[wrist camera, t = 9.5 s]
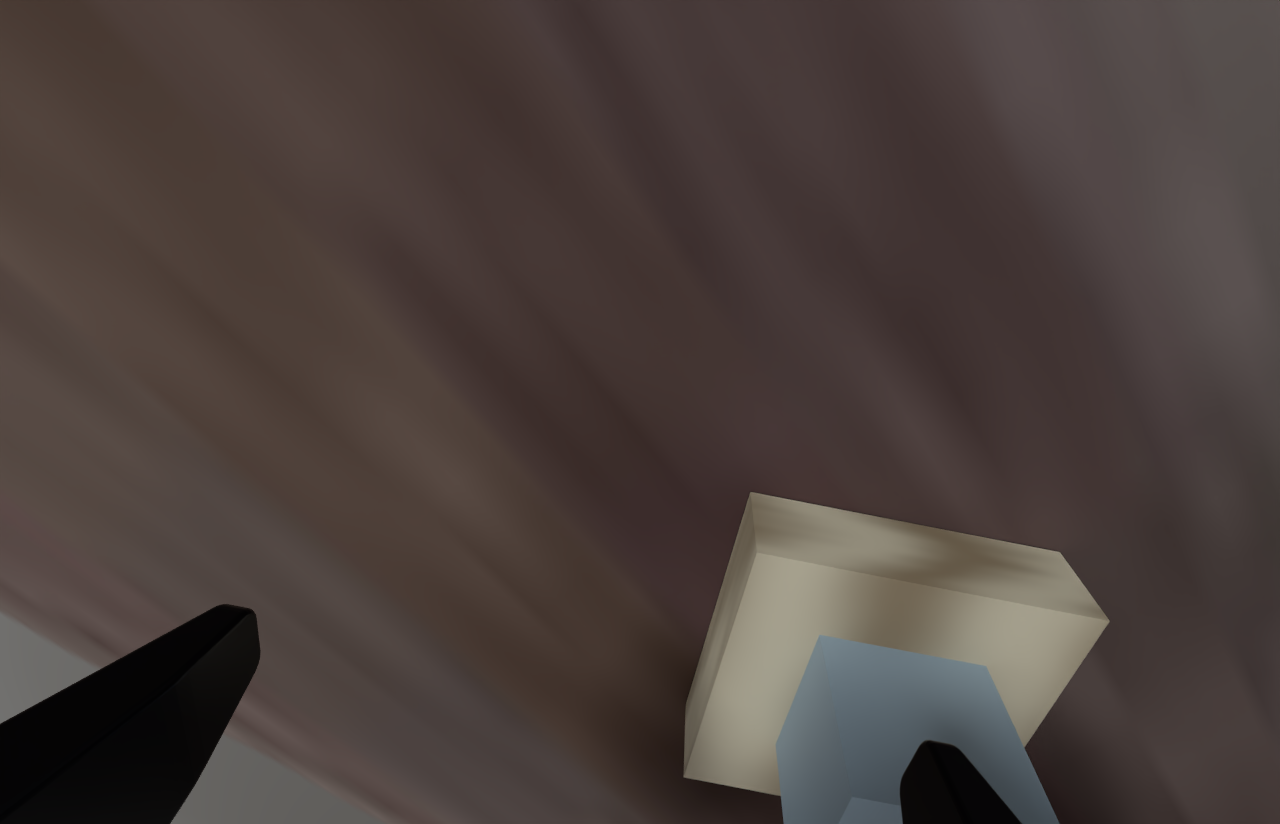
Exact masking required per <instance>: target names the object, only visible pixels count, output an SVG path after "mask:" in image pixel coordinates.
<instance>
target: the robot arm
mask: <svg viewBox="0 0 1280 824" xmlns="http://www.w3.org/2000/svg"><path fill="white" fill-rule="evenodd" d="M259 660H260V643H259V635H258V626H257V618H256V614H255V613H254V611H253V610H252V609H249V608H245V607H239V606H234V605H229V604H222V605H219V606H216V607H214V608H212V609H210V610H208V611H206V612H205V613H203V614H201V615H199V616H197V617H195V618H194V619H192V620H190V621H188V622H186V623H184V624H183V625H181V626H179V627H177V628H175V629H173V630H172V631H170V632H168V633H166V634H164V635H162V636H160V637H159V638H157V639H155V640H153V641H151V642H149V643H148V644H146V645H144V646H142V647H140V648H138V649H137V650H135V651H133V652H131V653H129V654H127V655H126V656H124V657H122V658H120V659H118V660H116V661H115V662H113V663H111V664H109V665H107V666H105V667H104V668H102V669H100V670H98V671H96V672H94V673H93V674H91V675H89V676H87V677H86V678H83V679H82V680H80V681H78V682H76V683H74V684H72V685H71V686H69V687H67V688H65V689H63V690H61V691H60V692H58V693H56V694H54V695H52V696H51V697H49V698H47V699H45V700H43V701H42V702H39V703H38V704H36V705H34V706H32V707H30V708H28V709H27V710H25V711H23V712H21V713H19V714H17V715H16V716H14V717H12V718H10V719H8V720H6V721H4V722H3V723H1V724H0V824H170V823H171V822H172V820H173V819H174V817H175V816H176V814H177V812H178V811H179V809H180V808H181V806H182V805H183V803H184V802H185V800H186V798H187V797H188V795H189V794H190V792H191V791H192V789H193V787H194V786H195V784H196V782H197V781H198V779H199V777H200V775H201V773H202V772H203V770H204V768H205V766H206V764H207V763H208V761H209V759H210V757H211V755H212V753H213V751H214V749H215V747H216V745H217V743H218V742H219V740H220V738H221V736H222V734H223V732H224V730H225V728H226V726H227V725H228V723H229V721H230V719H231V717H232V715H233V713H234V711H235V709H236V707H237V706H238V704H239V702H240V700H241V698H242V696H243V694H244V692H245V690H246V688H247V687H248V685H249V683H250V681H251V679H252V677H253V675H254V673H255V671H256V669H257V666H258V664H259ZM900 803H901V813H902V822H903V824H1022V823H1021V821H1020V820H1019V819H1018V818H1017V817H1016V816H1015V814H1014V813H1013V812H1012V811H1011V810H1010V808H1009V807H1008V806H1007V805H1006V804H1005V802H1004V801H1003V800H1002V799H1001V798H1000V796H999V795H998V794H997V793H996V792H995V790H994V789H993V788H992V787H991V786H990V784H989V783H988V782H987V781H986V780H985V778H984V777H983V776H982V775H981V774H980V772H979V771H978V770H977V769H976V768H975V766H974V765H973V764H972V763H971V762H970V760H969V759H968V758H967V757H966V756H965V754H964V753H963V752H962V751H961V750H960V749H959V748H958V747H956V746H955V745H952V744H949V743H944V742H939V741H933V740H925V741H923V742H922V743H921V744H920V745H919V747H918V749H917V750H916V752H915V754H914V756H913V757H912V759H911V761H910V763H909V765H908V766H907V768H906V770H905V772H904V773H903V776H902V778H901V782H900Z"/></svg>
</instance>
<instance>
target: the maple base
mask: <svg viewBox="0 0 1280 824" xmlns="http://www.w3.org/2000/svg"><path fill="white" fill-rule="evenodd" d="M1108 623H1109V620H1108V618H1107V617H1106V615H1105V614H1104V613H1103V611H1102V610H1101V608H1100V607H1099V606H1098V604H1097V603H1096V602H1095V600H1094V599H1093V597H1092V596H1091V595H1090V593H1089V592H1088V590H1087V589H1086V588H1085V586H1084V585H1083V584H1082V582H1081V581H1080V579H1079V578H1078V577H1077V575H1076V574H1075V572H1074V571H1073V570H1072V568H1071V567H1070V566H1069V564H1068V563H1067V561H1066V560H1065V559H1064V557H1063V556H1062V554H1061V553H1060V552H1056V551H1051V550H1046V549H1041V548H1035V547H1030V546H1025V545H1020V544H1015V543H1010V542H1005V541H999V540H994V539H989V538H984V537H979V536H974V535H969V534H964V533H958V532H953V531H948V530H943V529H938V528H933V527H928V526H922V525H917V524H912V523H907V522H902V521H897V520H892V519H886V518H881V517H876V516H871V515H866V514H861V513H856V512H851V511H845V510H840V509H835V508H830V507H825V506H820V505H815V504H809V503H804V502H799V501H794V500H789V499H784V498H779V497H774V496H768V495H763V494H758V493H753V492H750V495H749V498H748V502H747V505H746V508H745V511H744V515H743V518H742V521H741V525H740V528H739V531H738V534H737V538H736V541H735V544H734V548H733V551H732V554H731V557H730V561H729V564H728V567H727V571H726V574H725V577H724V580H723V584H722V587H721V590H720V594H719V597H718V600H717V603H716V607H715V610H714V613H713V617H712V620H711V623H710V626H709V630H708V633H707V636H706V640H705V643H704V646H703V649H702V653H701V656H700V659H699V663H698V666H697V669H696V673H695V676H694V679H693V682H692V686H691V689H690V692H689V696H688V699H687V702H686V712H685V748H684V777H685V778H690V779H695V780H700V781H705V782H711V783H716V784H721V785H726V786H732V787H737V788H742V789H747V790H752V791H758V792H763V793H768V794H773V795H779V796H781V792H780V783H779V773H778V763H777V754H776V742H777V740H778V737H779V735H780V732H781V730H782V727H783V725H784V722H785V720H786V717H787V715H788V712H789V710H790V707H791V705H792V702H793V700H794V697H795V695H796V692H797V690H798V687H799V685H800V682H801V680H802V677H803V675H804V672H805V670H806V667H807V665H808V662H809V660H810V657H811V655H812V652H813V650H814V647H815V645H816V642H817V640H818V637H819V635H824V636H829V637H834V638H840V639H845V640H850V641H856V642H861V643H866V644H871V645H877V646H882V647H887V648H893V649H898V650H903V651H909V652H914V653H919V654H925V655H930V656H935V657H941V658H946V659H951V660H956V661H962V662H967V663H972V664H978V665H983V666H986V667H987V669H988V671H989V673H990V675H991V677H992V680H993V682H994V684H995V686H996V688H997V690H998V693H999V695H1000V697H1001V699H1002V701H1003V703H1004V705H1005V708H1006V710H1007V712H1008V714H1009V716H1010V718H1011V720H1012V723H1013V725H1014V727H1015V729H1016V731H1017V733H1018V736H1019V738H1020V740H1021V742H1022V744H1023V746H1024V747H1025V746H1026V744H1027V743H1028V741H1029V740H1030V738H1031V737H1032V735H1033V734H1034V732H1035V731H1036V730H1037V728H1038V727H1039V725H1040V724H1041V722H1042V721H1043V719H1044V718H1045V716H1046V715H1047V713H1048V712H1049V710H1050V709H1051V707H1052V706H1053V704H1054V703H1055V701H1056V700H1057V698H1058V697H1059V695H1060V694H1061V692H1062V691H1063V689H1064V688H1065V687H1066V685H1067V684H1068V682H1069V681H1070V679H1071V678H1072V676H1073V675H1074V673H1075V672H1076V670H1077V669H1078V667H1079V666H1080V664H1081V663H1082V661H1083V660H1084V658H1085V657H1086V655H1087V654H1088V652H1089V651H1090V649H1091V648H1092V646H1093V645H1094V644H1095V642H1096V641H1097V639H1098V638H1099V636H1100V635H1101V633H1102V632H1103V630H1104V629H1105V627H1106V626H1107V624H1108Z"/></svg>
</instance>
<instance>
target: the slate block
mask: <svg viewBox="0 0 1280 824" xmlns="http://www.w3.org/2000/svg"><path fill="white" fill-rule="evenodd" d="M925 740H933V741H939V742H944V743H949V744H952V745H955V746H956V747H958V748H959V749H960V750H961V751H962V752H963V753H964V754H965V756H966V757H967V758H968V759H969V760H970V762H971V763H972V764H973V765H974V766H975V768H976V769H977V770H978V771H979V772H980V774H981V775H982V776H983V777H984V778H985V780H986V781H987V782H988V783H989V784H990V786H991V787H992V788H993V789H994V790H995V792H996V793H997V794H998V795H999V796H1000V798H1001V799H1002V800H1003V801H1004V802H1005V804H1006V805H1007V806H1008V807H1009V808H1010V810H1011V811H1012V812H1013V813H1014V814H1015V816H1016V817H1017V818H1018V819H1019V820H1020V821H1021V823H1022V824H1059V822H1058V819H1057V817H1056V815H1055V813H1054V811H1053V809H1052V806H1051V804H1050V802H1049V800H1048V798H1047V796H1046V794H1045V791H1044V789H1043V787H1042V785H1041V783H1040V781H1039V779H1038V776H1037V774H1036V772H1035V770H1034V768H1033V766H1032V763H1031V761H1030V759H1029V757H1028V755H1027V753H1026V751H1025V748H1024V746H1023V744H1022V742H1021V740H1020V738H1019V736H1018V733H1017V731H1016V729H1015V727H1014V725H1013V723H1012V720H1011V718H1010V716H1009V714H1008V712H1007V710H1006V708H1005V705H1004V703H1003V701H1002V699H1001V697H1000V695H999V693H998V690H997V688H996V686H995V684H994V682H993V680H992V677H991V675H990V673H989V671H988V669H987V667H986V666H983V665H978V664H972V663H967V662H962V661H956V660H951V659H946V658H941V657H935V656H930V655H925V654H919V653H914V652H909V651H903V650H898V649H893V648H887V647H882V646H877V645H871V644H866V643H861V642H856V641H850V640H845V639H840V638H834V637H829V636H824V635H819V637H818V640H817V642H816V645H815V647H814V650H813V652H812V655H811V657H810V660H809V662H808V665H807V667H806V670H805V672H804V675H803V677H802V680H801V682H800V685H799V687H798V690H797V692H796V695H795V697H794V700H793V702H792V705H791V707H790V710H789V712H788V715H787V717H786V720H785V722H784V725H783V727H782V730H781V732H780V735H779V737H778V740H777V742H776V754H777V763H778V773H779V783H780V792H781V802H782V811H783V821H784V824H903V822H902V813H901V803H900V782H901V778H902V776H903V773H904V772H905V770H906V768H907V766H908V765H909V763H910V761H911V759H912V757H913V756H914V754H915V752H916V750H917V749H918V747H919V745H920V744H921V743H922V742H923V741H925Z"/></svg>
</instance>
